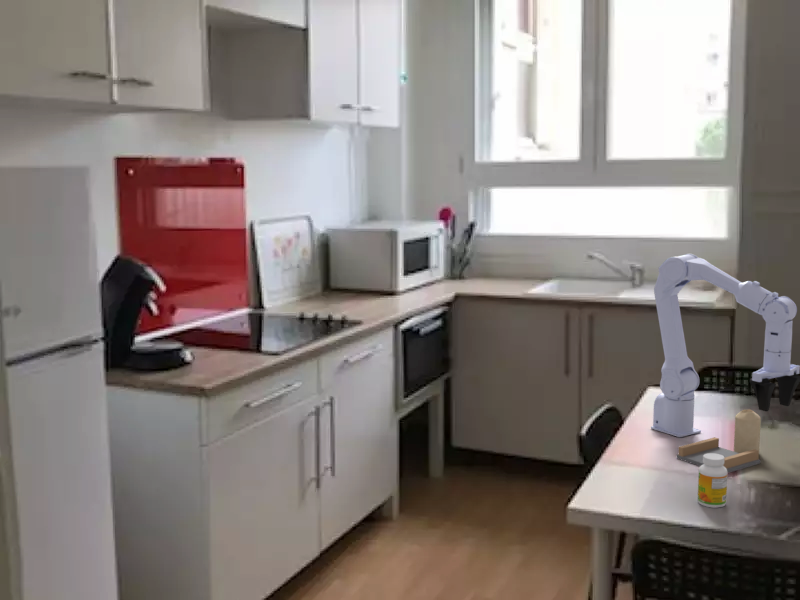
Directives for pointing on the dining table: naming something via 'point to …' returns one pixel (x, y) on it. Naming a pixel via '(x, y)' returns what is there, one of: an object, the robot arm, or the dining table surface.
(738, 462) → the tray
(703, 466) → the supplement bottle
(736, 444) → the candle
